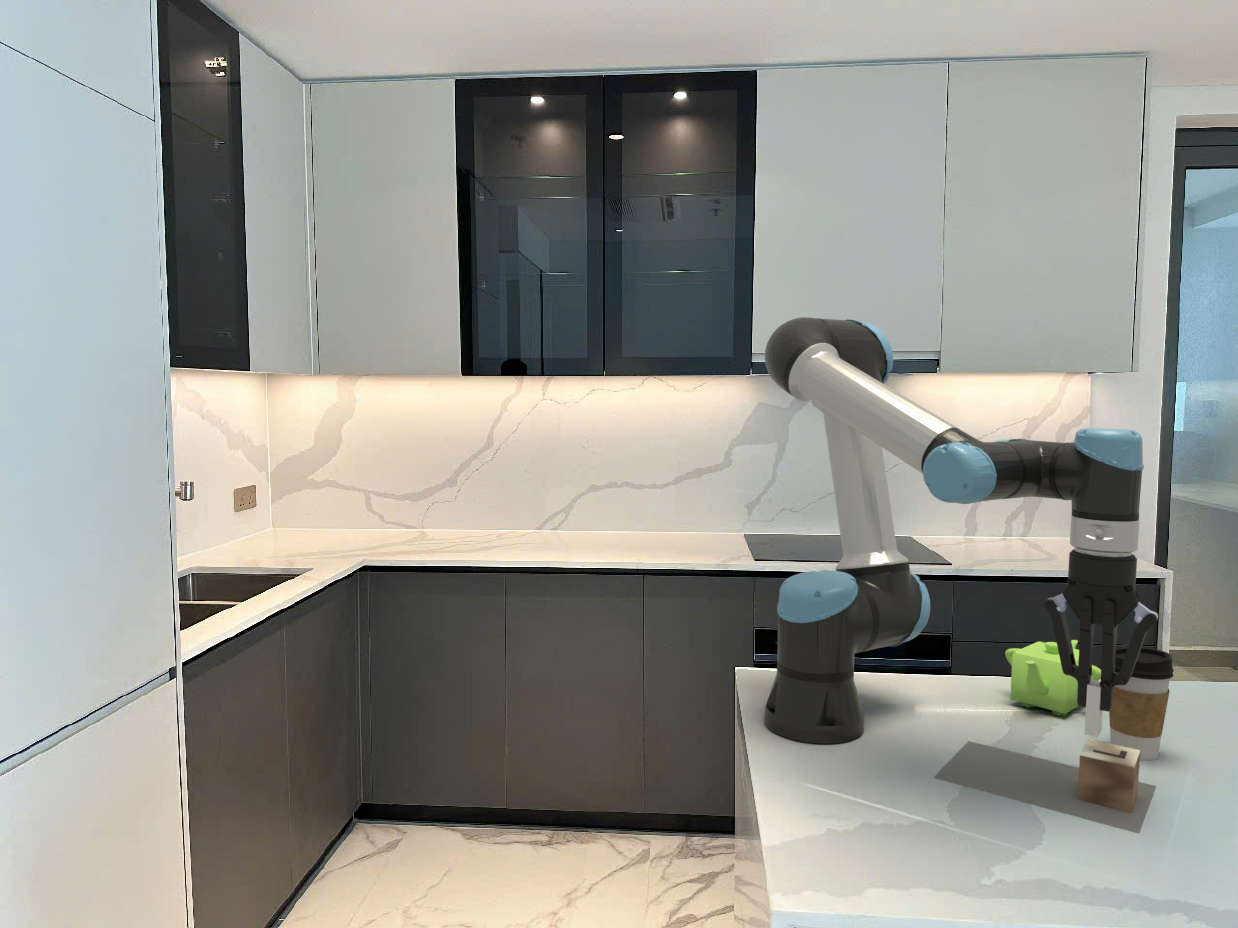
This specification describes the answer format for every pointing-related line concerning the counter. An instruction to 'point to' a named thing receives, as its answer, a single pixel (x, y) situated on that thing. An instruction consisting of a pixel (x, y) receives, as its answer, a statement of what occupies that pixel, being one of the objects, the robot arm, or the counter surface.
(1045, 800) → the rubber mat
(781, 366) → the robot arm
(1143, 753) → the coffee cup
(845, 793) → the counter surface
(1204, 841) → the counter surface
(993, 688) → the counter surface
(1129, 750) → the walnut cube
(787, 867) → the counter surface
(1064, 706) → the teapot
